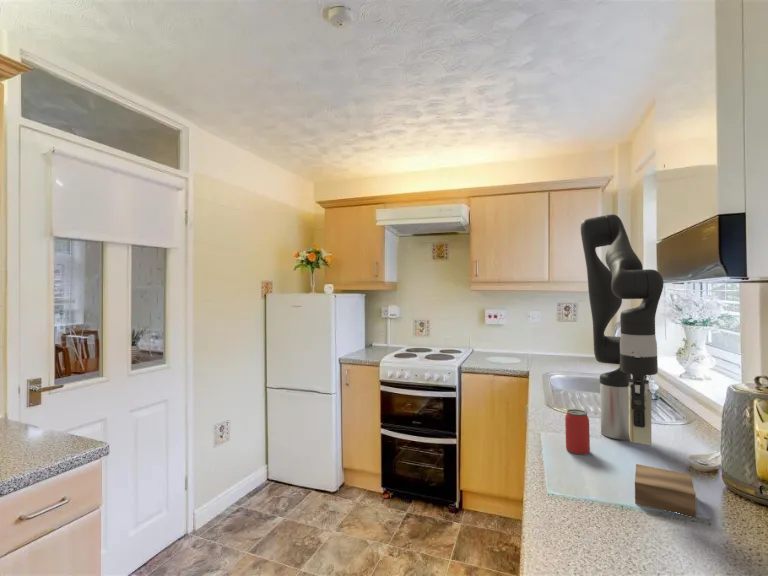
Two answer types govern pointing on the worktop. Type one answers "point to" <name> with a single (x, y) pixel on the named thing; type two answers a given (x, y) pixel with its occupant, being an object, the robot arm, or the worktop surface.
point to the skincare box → (644, 433)
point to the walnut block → (665, 490)
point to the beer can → (577, 432)
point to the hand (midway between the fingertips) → (640, 422)
